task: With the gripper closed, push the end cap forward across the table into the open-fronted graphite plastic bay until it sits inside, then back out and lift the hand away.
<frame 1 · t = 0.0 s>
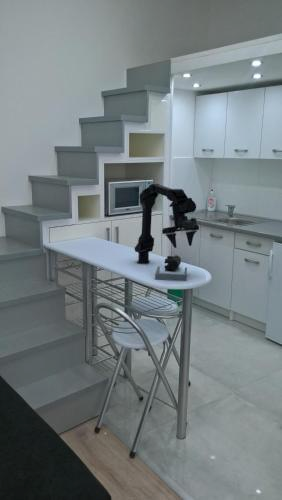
hand: (182, 246, 208), 15 cm above the table, tool pointing down, fingers open, 9 cm apart
end cap: (172, 269, 226), on the table
bay: (171, 276, 213), on the table
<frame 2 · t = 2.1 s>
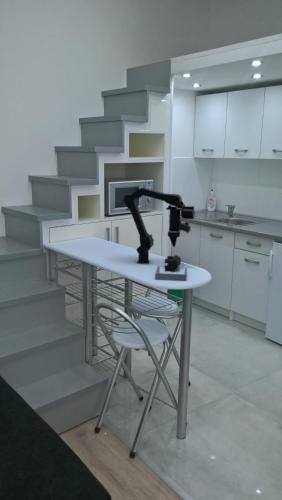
hand: (174, 246, 232), 10 cm above the table, tool pointing down, fingers closed
nothing on the table moved.
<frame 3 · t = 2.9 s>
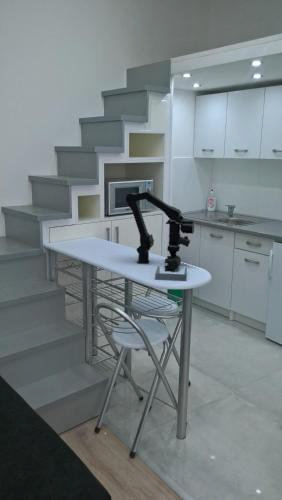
hand: (173, 260, 234), 3 cm above the table, tool pointing down, fingers closed
nothing on the table moved.
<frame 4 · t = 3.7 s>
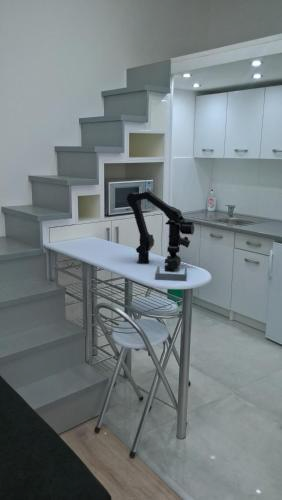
hand: (173, 261, 232), 3 cm above the table, tool pointing down, fingers closed
end cap: (172, 269, 226), on the table, touching gripper
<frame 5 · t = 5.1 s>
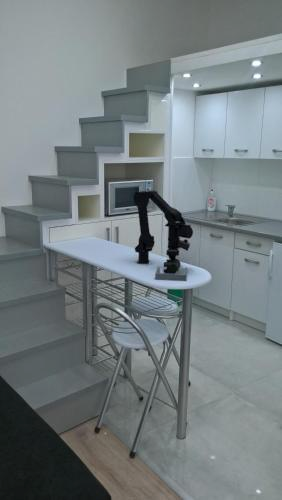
hand: (172, 264, 225), 3 cm above the table, tool pointing down, fingers closed
end cap: (172, 273, 218), on the table, touching gripper
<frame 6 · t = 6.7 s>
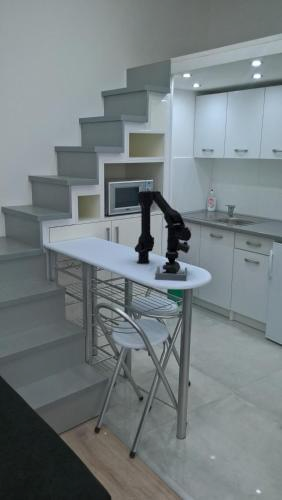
hand: (172, 267, 220), 2 cm above the table, tool pointing down, fingers closed
end cap: (171, 276, 213), on the table, touching gripper
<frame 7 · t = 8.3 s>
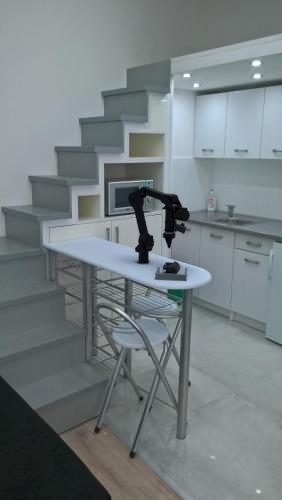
hand: (169, 248, 225), 11 cm above the table, tool pointing down, fingers closed
end cap: (171, 276, 213), on the table
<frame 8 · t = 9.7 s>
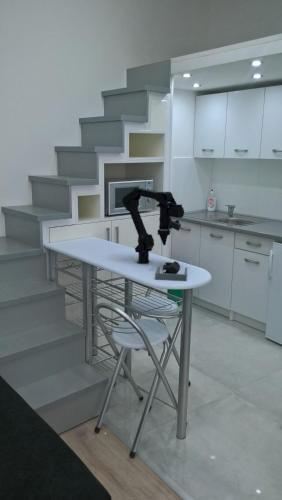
hand: (164, 245, 228), 12 cm above the table, tool pointing down, fingers closed
nothing on the table moved.
at the end: end cap inside the target area on the bay (0.7 cm from its centre), point 0.0 cm above the bay's base; end cap moved 13.2 cm from its start; the gripper is holding nothing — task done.
